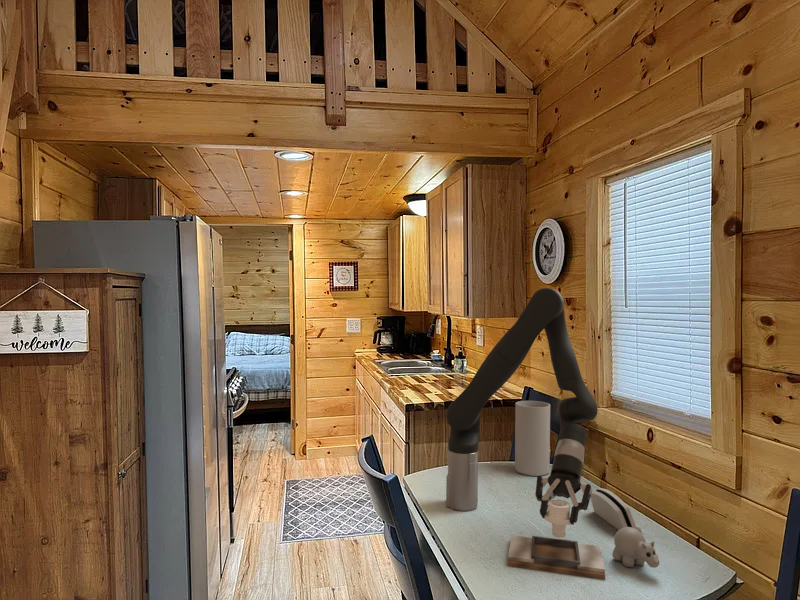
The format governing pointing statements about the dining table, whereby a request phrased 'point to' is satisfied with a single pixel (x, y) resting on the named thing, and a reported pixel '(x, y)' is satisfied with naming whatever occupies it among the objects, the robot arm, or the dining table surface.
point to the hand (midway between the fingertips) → (557, 519)
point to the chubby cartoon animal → (634, 548)
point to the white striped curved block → (612, 509)
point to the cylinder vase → (532, 438)
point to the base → (556, 556)
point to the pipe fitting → (558, 517)
